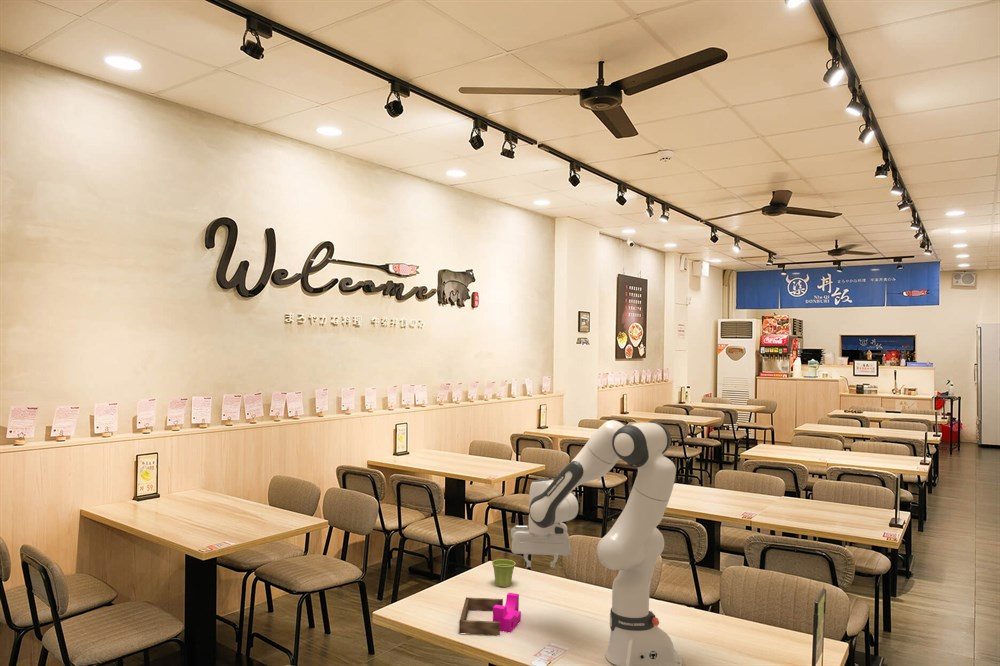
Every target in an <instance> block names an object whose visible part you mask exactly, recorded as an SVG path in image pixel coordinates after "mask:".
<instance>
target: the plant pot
mask: <svg viewBox="0 0 1000 666" xmlns="http://www.w3.org/2000/svg"><path fill="white" fill-rule="evenodd" d="M491 564H492V568H493V572H494V584H495V586H497V587H499V588H501V587H502V588H507V587H510V586H511V585H512V580H513V573H514V569H515V566H516V564H517V563H516V562H515V561H514V560H511V559H506V558H502V559H501V558H500V559H494V560H493V561H491Z"/></svg>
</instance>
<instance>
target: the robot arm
mask: <svg viewBox="0 0 1000 666" xmlns="http://www.w3.org/2000/svg"><path fill="white" fill-rule="evenodd" d="M671 444H672V435H671V432H670V431H669V428H668V427H666V425H664V424H663V423H660V422H658V421H657V422H656V421H648V422H643V421H642V422H635V423H632V424H624V423H622V422H621V421H619V420H615V419H611V420H606V421H605V422H604V423H603V424H602V425H601V426H599V428H598V429H597V430H595V432H593V434H592V435H591V436H590V437H589V439H588V441H586V443H585V445H583V447H582V448H581V449H580V451H578V453H577V454H576V455H575V456H574V458H572V460H571V461H570V462H569V463H568V465H566V466H565V467H564V468H563V469H562V470H561V472H560V473H559V474H558V475H557V476H556V477H555V479H552V478H539V479H535V480H533V481H532V482H531V483H530V487H529V492H528V493H529V495H528V506H529V509H528V511H529V514H528V525H515V526H512V528H511V529H510V537H511V539H512V540H511V553H512V554H515V555H523V559H524V560H525V561H524V562H525V563H526V568H531V567H532V560H529V559H528V556H529V555H540V556H541V555H545V556H553V560H552V561H550V562H549V563H550V565H549V567H550V569H556V563H557V561H558V560H559V556H565V557H566V556H568V557H569V556H570V554H571V553H572V547H571V539H570V535H569V533H568V526H567V525H566V522H569V521H571V520H574V519H575V518H576V517H577V516H578V514H579V510H580V507H579V505H580V504H579V501H578V498H577V497H576V495H575V494H574V493H572V491H574V489H576V488H577V487H579V486H580V485H582V484H585V483H589V482H592V481H594V480H597V479H600V478H602V477H604V476H605V475H606V474H608V473H609V472H611V470H612V469H613V468H614V466H615V465H616V464H617V463H618V461H619V460H622V461H623V462H626V464H627V465H628V466H629V467H631V468H635V469H637V473H636V477H635V480H634V483H633V485H632V488H631V491H630V493H629V496H628V498H627V502H626V504H625V506H624V508H623V510H622V511H621V513H620V515H619V516H618V518H617V519H616V520H615V522H614V524H613V525H612V527H611V528H610V529H609V531H607V533H606V534H605V535H604V536H603V537H602V538H601V539H600V540H598V543H597V546H596V554H597V557H598V560H599V562H600V564H601V565H602V566H604V568H606V569H608V570H610V571H611V570H613V571H615V570H617V571H618V570H619V571H618V573H617V575H616V576H615V578H614V579H613V582H612V584H611V585H612V586H611V587H612V588H611V608H610V613H609V627H610V632H609V633H610V634H609V641H608V645H607V649H606V652H605V658H606V659H607V661H609V663H610V664H613V665H614V666H683V660H682V659H683V658H682V657H681V655H680V654H679V653H678V651H676V650H675V647H674V644H673V641H672V638H671V637H670V636H669V635H668V634H667V632H665V631H664V630H662V628H660V627H659V625H660V621H659V618H658V617H656V614H654V612H653V611H652V610H650V590H651V581H652V578H653V574H654V572H655V567H656V564H657V561H658V559H659V557H660V556H661V554H662V552H663V551H664V550H665V549H664V548H665V539H664V535H663V533H662V532H661V531H660V530H659V528H657V526H658V525H660V523H661V522H662V520H663V517H664V514H665V512H666V509H667V507H668V504H669V501H670V498H671V496H672V492H673V490H674V489H673V488H674V485H675V479H676V474H677V473H676V472H677V469H676V466H675V464H674V462H673V461H672V460H671V459H669V458H668V457H667V456H664V454H665V453H666V452H667V451H668V450H669V448H670V447H671ZM564 522H565V523H564Z"/></svg>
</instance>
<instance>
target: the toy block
mask: <svg viewBox="0 0 1000 666" xmlns="http://www.w3.org/2000/svg"><path fill="white" fill-rule="evenodd" d="M519 600H520V594H519V593H513V592H508V593H506V600H505V605H503V606H502V605H495V606H494V607H493V611H492V621H497V622H500V632H503V631H504V633H508V632H510V633H512V631H513V630H514V629H515V628H516V627H517V626H518V625H519V624H520V623H521V622H520V621H522V618H521V617H522V611H520V610H519V606H520V601H519ZM519 622H520V623H519ZM518 623H519V624H518Z"/></svg>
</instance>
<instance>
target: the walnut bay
mask: <svg viewBox="0 0 1000 666" xmlns="http://www.w3.org/2000/svg"><path fill="white" fill-rule="evenodd" d="M495 605H502V606H504V598H493V597H492V598H490V597H489V598H488V597H487V598H486V597H482V598H481V597H465V600H464V604H463V608H462V611H461V614H460V618H459V622H458V623H459V625H458V628H459V629H458V634H459V633H469V634H468V635H474V634H484V635H483V636H497V635H500V633H501V631H500V622H497V621H493V620H492V621H491V620H472V619H471V620H470V619H469V620H467V619H468V615H469V611H476V610H482V612H493V607H494V606H495Z"/></svg>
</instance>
